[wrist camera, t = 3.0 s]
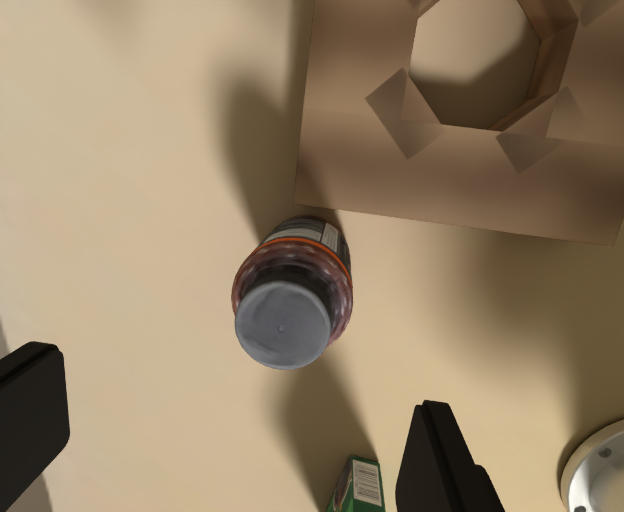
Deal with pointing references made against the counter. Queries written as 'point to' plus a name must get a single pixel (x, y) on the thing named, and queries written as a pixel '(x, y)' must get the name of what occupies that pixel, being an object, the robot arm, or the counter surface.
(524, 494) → the counter surface
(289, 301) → the supplement bottle
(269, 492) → the counter surface
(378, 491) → the coffee box
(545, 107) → the socket block
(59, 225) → the counter surface
